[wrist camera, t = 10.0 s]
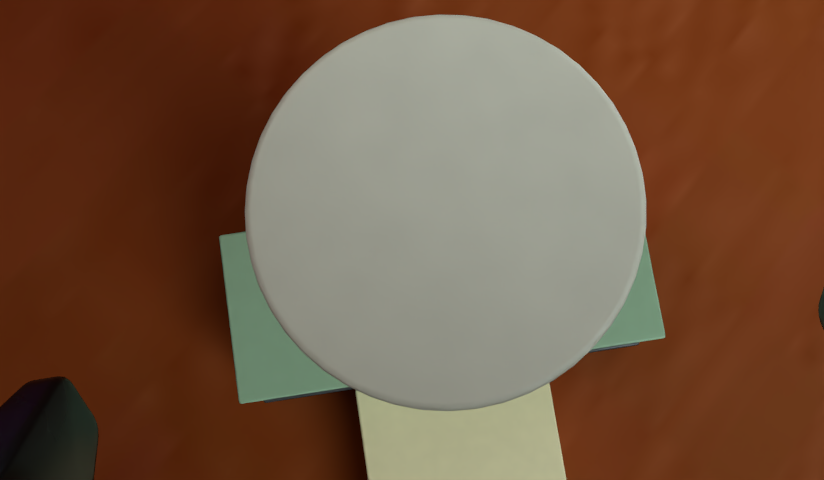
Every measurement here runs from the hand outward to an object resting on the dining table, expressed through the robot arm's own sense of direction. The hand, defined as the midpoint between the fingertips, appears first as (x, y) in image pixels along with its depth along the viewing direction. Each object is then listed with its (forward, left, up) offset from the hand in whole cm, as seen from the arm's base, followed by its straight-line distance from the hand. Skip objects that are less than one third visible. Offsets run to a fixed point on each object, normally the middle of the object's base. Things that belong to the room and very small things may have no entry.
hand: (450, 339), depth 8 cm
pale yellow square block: (-2, +2, -9) cm, 10 cm away
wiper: (+1, -1, -9) cm, 9 cm away
